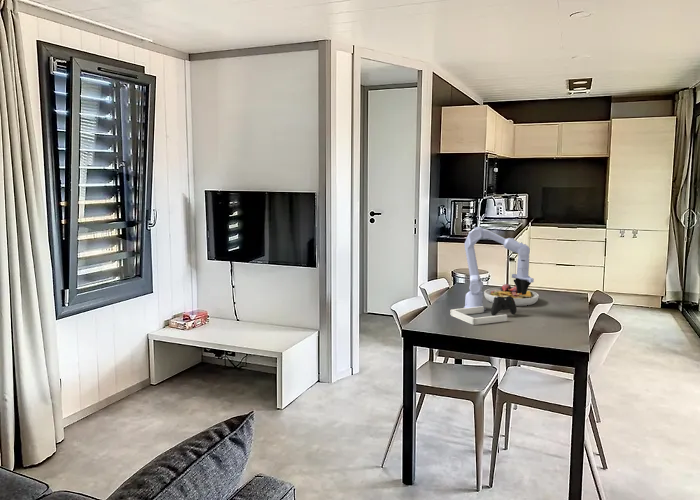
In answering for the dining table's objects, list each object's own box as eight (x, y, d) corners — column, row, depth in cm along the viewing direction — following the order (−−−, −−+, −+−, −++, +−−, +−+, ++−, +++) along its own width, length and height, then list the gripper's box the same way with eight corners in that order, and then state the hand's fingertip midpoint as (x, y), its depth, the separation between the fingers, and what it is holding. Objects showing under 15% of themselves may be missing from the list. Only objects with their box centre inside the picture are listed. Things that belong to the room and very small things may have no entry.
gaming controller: (494, 317, 281) (495, 298, 280) (488, 314, 287) (489, 295, 286) (519, 315, 285) (520, 296, 283) (512, 313, 291) (513, 294, 289)
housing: (450, 315, 285) (450, 309, 284) (482, 311, 293) (482, 306, 292) (473, 324, 267) (473, 318, 266) (506, 320, 274) (507, 315, 274)
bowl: (545, 308, 303) (546, 293, 302) (490, 307, 304) (491, 293, 303) (529, 296, 333) (529, 283, 332) (479, 295, 334) (479, 282, 332)
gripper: (538, 269, 282) (537, 295, 284) (519, 265, 295) (518, 290, 297) (527, 270, 279) (526, 297, 281) (509, 266, 292) (507, 291, 294)
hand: (521, 293), depth 289 cm, fingers open, 3 cm apart
